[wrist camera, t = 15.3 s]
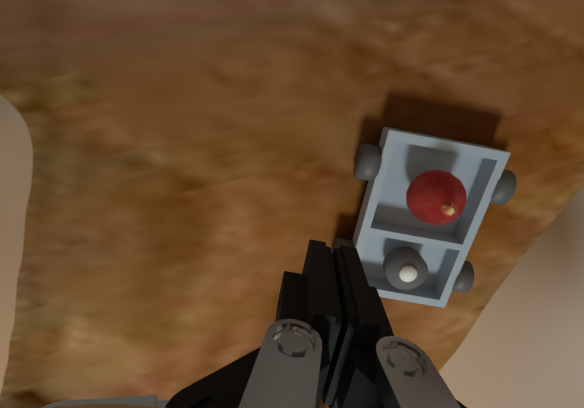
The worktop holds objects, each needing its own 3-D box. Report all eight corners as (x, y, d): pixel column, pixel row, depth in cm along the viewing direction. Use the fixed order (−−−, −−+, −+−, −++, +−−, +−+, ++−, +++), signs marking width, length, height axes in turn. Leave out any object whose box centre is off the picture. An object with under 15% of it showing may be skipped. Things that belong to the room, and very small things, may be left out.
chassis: (364, 122, 36) (371, 126, 32) (506, 149, 36) (530, 156, 32) (326, 271, 42) (329, 289, 39) (446, 292, 43) (460, 312, 39)
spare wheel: (389, 243, 38) (394, 253, 36) (427, 250, 38) (435, 260, 36) (378, 276, 39) (382, 288, 37) (415, 283, 40) (421, 295, 37)
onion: (459, 182, 36) (499, 206, 29) (423, 219, 38) (453, 250, 30) (422, 153, 35) (453, 170, 28) (387, 192, 37) (408, 218, 29)
